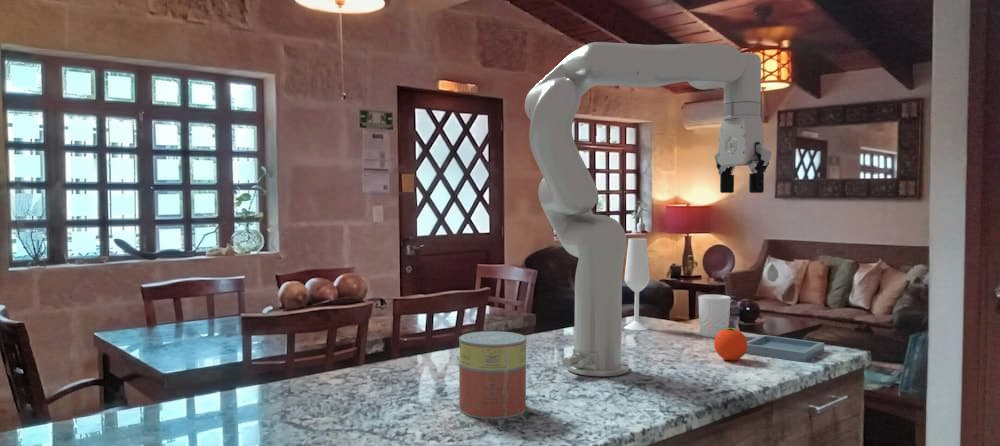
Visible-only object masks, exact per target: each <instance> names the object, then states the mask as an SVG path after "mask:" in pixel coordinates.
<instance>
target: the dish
mask: <svg viewBox="0 0 1000 446" xmlns="http://www.w3.org/2000/svg"><path fill="white" fill-rule="evenodd" d="M747 345H748V346H747V350H746V352H745V354H746V353H748V354H747V355H753V354H755V355H754V356H760V355H761V357H767V358H773V359H781V360H786V361H787V360H788V361H795V362H800V363H806V362H808V361H810V360H811V359H813V358H815V357H816V356H818V355H821V354H822V353H824V352H825V342H820V341H814V340H813V341H812V340H807V339H806V340H805V339H797V338H792V337H791V338H789V337H785V336H784V337H782V336H776V335H775V336H773V335H768V334H767V335H766V334H762V335H760V336H757V337H755V338H752V339H749V340H747Z"/></svg>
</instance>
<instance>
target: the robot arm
mask: <svg viewBox="0 0 1000 446" xmlns="http://www.w3.org/2000/svg"><path fill="white" fill-rule="evenodd" d="M686 82H687V84H689V86H691V87H693V88H694V89H697V90H712V89H713V90H714V89H721V88H722V89H723V120H722V121H721V124H720V130H719V135H718V136H719V137H718V147H717V148H718V149H717V153H716V154H715V155H714V160H715V164H716V169H717V170H718V175H719V177H720V178H719V181H720V182H719V183H720V184H719V192H720V193H721V194H730V193H731V194H733V193H735V175H734V174H733V173H734V170H735V168H736V167H737V166H738V167H740V166H741V167H742V166H748V168H749V170H750V173H749V174H748V175H749V177H748V180H749V181H748V185H749V186H748V191H749V193H750V194H762V193H764V190H765V189H764V187H765V186H764V185H765V180H764V179H765V174H766V173H767V168H768V166H769V165H770V160H771V156H772V151H771V150H770V149H768V148H766V147H765V139H764V138H765V137H764V128H763V127H764V126H763V121H762V118H761V117H762V116H761V115H762V113H761V110H762V109H761V106H762V104H761V103H762V102H761V100H762V99H761V98H762V97H761V95H762V94H761V93H762V89H761V88H762V85H761V84H762V60H761V57H760V56H759V55H758V53H754V52H741V51H740V50H738V48H736V47H734V46H731V45H727V44H719V43H717V44H716V43H677V44H676V43H675V44H672V43H671V44H670V43H669V44H667V43H666V44H663V43H662V44H639V43H626V42H625V43H624V42H623V43H620V42H611V41H610V42H609V41H608V42H606V41H594V42H589V43H587V44H584V45H583V46H581V47H579V48H577V49H575V50H573V51H572V52H571V53H570V54H568V55H566V57H565V58H563V60H562V61H560V62H559V64H558V65H557V66H555V67H554V68H553V69H552V70H550V72H549V73H548V74H546V75H545V76H544V77H543V78H542V79H541V80H540V81H539V82H538V83H536V84H535V86H534V87H532V88H531V90H529V92H528V93H527V95H526V97H525V100H524V111H525V114H526V116H527V118H528V119H529V120H530V124H529V135H528V136H529V145H530V149H531V153H532V156H533V157H534V160H535V162H536V164H537V166H538V168H539V172H541V173H540V174H541V175H542V177H543V178H542V179H541V181H540V182H539V186H538V199H539V203H540V205H541V206H540V207H541V208H542V210H543V212H544V214H545V216H546V218H547V220H548V221H549V224H550V225H551V227H552V229H553V231H554V233H555V235H556V237H557V239H558V241H559V243H560V244H561V246H562V247H563V248H564V250H565V251H566V252H567V253H568V254H570V255H572V256H573V257H575V258H578V259H577V260H578V261H577V266H576V270H575V277H574V340H573V341H574V343H573V344H574V348H573V349H572V355H570V356H568V357H565V358H563V359H562V365H563V366H564V367H565V368H566V369H567V370H568V372H571V373H573V374H577V375H581V376H589V377H615V376H620V375H624V374H626V373H628V372H629V370H630V369H629V363H627V362H626V361H623V360H622V321H623V320H622V319H623V318H622V317H623V316H622V315H623V314H622V313H623V310H622V309H623V306H622V305H623V303H622V302H623V288H622V287H623V270H624V264H625V263H624V262H625V256H626V253H627V235H626V232H625V229H624V227H623V226H622V224H620V222H619V221H618V220H616V219H614V218H613V217H612V216H611V217H610V216H608V215H603V214H594V212H593V211H592V209H593V208H594V207H595V205H596V204H597V202H598V196H599V195H598V193H599V191H598V188H597V185H596V183H595V180H594V179H593V177H592V174H591V173H590V171H589V169H588V168H587V166H586V165H587V164H585V161H584V160H583V158H582V156H581V154H580V151H579V150H578V147H577V145H576V142H575V139H574V137H573V136H574V135H573V123H574V120H575V117H576V114H577V112H578V110H579V109H580V104H581V97H583V96H584V94H586V93H587V92H588V91H589V90H590V89H591V88H593V87H594V88H595V87H597V86H608V87H611V86H613V87H617V86H618V87H632V88H633V87H635V88H656V87H663V86H667V85H672V84H677V83H686Z"/></svg>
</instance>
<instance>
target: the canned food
mask: <svg viewBox="0 0 1000 446" xmlns="http://www.w3.org/2000/svg"><path fill="white" fill-rule="evenodd" d="M527 339H528V338H527V336H526V335H524V334H522V333H519V332H518V333H517V332H514V331H513V332H512V331H506V330H505V331H501V330H485V331H484V330H483V331H482V330H481V331H473V332H467V333H464V334H462V335H460V336H459V337H458V340H459V344H458V345H459V357H458V358H459V361H458V362H459V364H458V365H459V367H458V369H459V371H458V372H459V373H458V374H459V380H458V381H459V383H458V384H459V391H458V393H459V394H458V395H459V397H458V398H459V399H458V400H459V401H458V403H459V405H458V411H459V412H460V413H461V414H463V415H465V416H468V417H471V418H476V419H482V420H483V419H484V420H500V419H501V420H502V419H510V418H515V417H518V416H520V415H523V414H524V413H525V412H526V410H527V406H526V405H527V404H526V403H527V402H526V401H527V396H526V394H527V393H526V392H527V391H526V390H527V389H526V388H527V386H526V381H527V376H526V374H527V373H526V372H527V361H526V360H527Z"/></svg>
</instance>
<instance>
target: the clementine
mask: <svg viewBox="0 0 1000 446" xmlns="http://www.w3.org/2000/svg"><path fill="white" fill-rule="evenodd" d="M747 341H748V340H747V338H746V336H745V334H744V333H742V332H741V331H740V330H738V329H737V328H733V327H728V329H723V330H722V331H720V332H719V333H718V334H717V335H716V337H715V338H714V341H713V347H714V349H715V352H716V353H717V355H718V357H721V359H723V360H726V361H731V362H732V361H733V362H734V361H738V360H739V359H741V358H743V357H744V355H745V354H746V353H745V352H746V350H747V346H748V345H747Z"/></svg>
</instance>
